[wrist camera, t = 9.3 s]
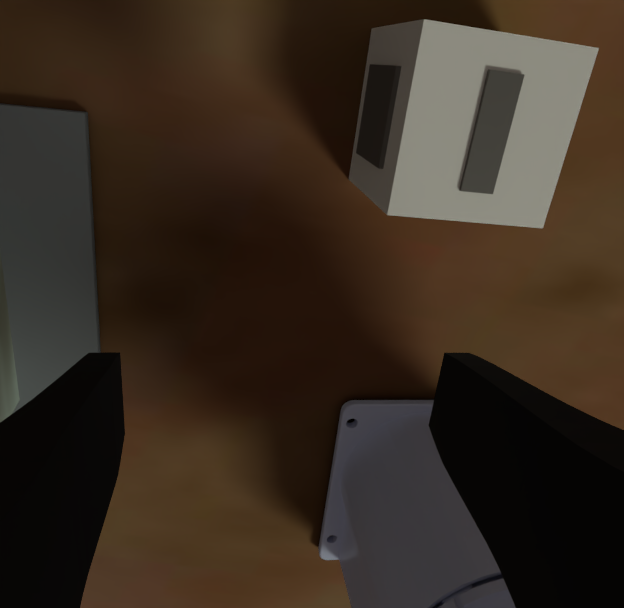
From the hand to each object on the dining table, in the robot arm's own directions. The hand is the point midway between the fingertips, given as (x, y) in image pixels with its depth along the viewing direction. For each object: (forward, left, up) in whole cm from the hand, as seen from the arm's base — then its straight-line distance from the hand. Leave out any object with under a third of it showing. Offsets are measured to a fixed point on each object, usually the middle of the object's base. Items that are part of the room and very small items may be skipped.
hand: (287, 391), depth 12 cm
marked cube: (+6, -6, -10) cm, 12 cm away
